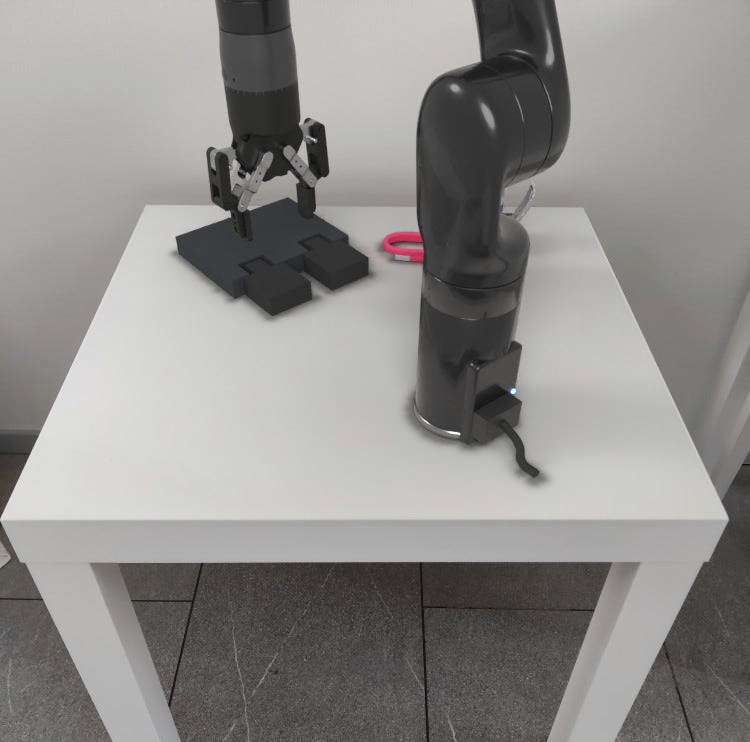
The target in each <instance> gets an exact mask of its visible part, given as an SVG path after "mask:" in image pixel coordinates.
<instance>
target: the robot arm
mask: <svg viewBox="0 0 750 742" xmlns="http://www.w3.org/2000/svg"><path fill="white" fill-rule="evenodd" d="M214 4H215V10H216V18H217V25H218V39H219V40H218V41H219V42H218V44H219V46H218V47H219V60H220V67H221V76H222V77H221V78H222V81H223V88H224V96H225V101H226V111H227V116H228V124H229V127H230V130H231V135H232V140H231V144H230V146H228V147H224V148H219V149H218V148H216V147H214V146H209V147H208V148H207V149H206V151H205V154H206V155H205V156H206V163H207V172H208V173H207V174H208V183H209V191H210V200H211V202H212V203H213V204H214V205H216V206H217V207H218V208H221V209H222V210H223V211H225V212H230V217H231V220H232V225H233V231H234V233H235V234H236V235H237V236H239V237H240V238H241V239H242V240H244V241H245V242H249V241H252V240H253V235H252V228H251V220H250V212H249V211H250V210H249V209H248V207H249V205H250V202H251V200H252V197H253V196H254V195H255V194H257V193H258V191H259V189H260V187H261V185H262V182H263V183H266V182H269V181H271V180H273V179H274V178H276V177H284V176H287V175H288V174H289V172H290V173H291V174H292V175H293V176H294V177H295V179H297V180H298V182H296V183H295V190H296V201H297V203H298V212H299V214H300V216H302V217H304V218H305V219H307V220H309V219H311V218H313V217H314V214H315V213H316V210H317V200H316V199H317V198H316V186H317V184H318V181H319V180H320V179H322V178H327V177H328V176H329V175H330V165H329V154H328V153H329V152H328V144H327V143H328V142H327V135H326V134H327V133H326V126H325V125H324V124H323V123H322V122H320V121H318V120H316V119H314V118H311V117H306V118H305V119H304V121H303V123H302V124H300V123H301V118H302V117H301V102H300V90H299V77H298V64H297V63H298V62H297V51H296V50H297V49H296V44H295V39H294V35H293V34H294V33H293V28H292V18H291V17H292V16H291V6H290V5H291V4H290V0H214ZM471 4H472V9H473V15H474V20H475V25H476V32H477V39H478V48H479V58H480V59H479V61H477V62H473V63H470V64H467V65H464V66H460V67H457V68H453V69H451V70H448V71H445V72H443V73H442V74H440V75H437V77H435V78H434V79H433V80H432V81H431V83H429V85H428V86H427V88H426V89H425V91H424V94H423V96H422V99H421V101H420V105H419V110H418V115H417V121H416V132H415V174H416V175H415V182H416V184H415V187H416V188H415V190H416V191H415V193H416V194H415V195H416V196H415V198H416V199H415V200H416V201H415V202H416V203H415V207H416V210H415V211H416V221H417V228H418V232H420V236H421V239H422V242H421V243H422V250H423V261H422V272H421V287H420V305H419V322H418V323H419V324H418V339H417V341H418V343H417V359H416V378H415V379H416V381H415V396H414V400H413V401H414V402H413V411H414V415H415V418H416V420H417V421H418V422H419V424H421V426H422V427H424V428H425V429H427V430H428V431H430V432H431V433H433V434H435V435H437V436H440V437H444V438H447V439H453V440H459V441H461V442H462V443H464V444H466V445H471V444H473V443H475V442H476V441H478V442H479V443H480V444H482V445H483V446H484V445H486V444H488V443H490V442H491V441H493V440H495V439H496V438H498V437H500V436H502V435H503V434H504V433H505V434H506V436H507V438H509V439H510V441H511V442H512V444H513V446H514V448H515V460H516V463H517V465H518V466H519V468H520V469H521V470H523V472H525V473H527V474H528V475H529V476H531V477H532V478H537V477H538V476H539V475H540V470H539V469H538V468H537V467H535V466H533V465H531V464H530V463H529V462H528V460H527V459H526V448H525V444H524V442H523V440H522V439H521V437H520V435H519V434H518V433H517V431H516V430H515V429H514V428H515V427H517V426H518V425H519V422H520V421H519V420H520V417H521V411H522V405H523V401H522V400H521V399H519V398H518V397H517V396H515V393H516V391H517V390H516V386H517V381H518V375H519V369H520V364H521V358H522V352H523V345H522V344H521V343H520V342H518V341H517V340H516V335H517V329H518V324H519V316H520V310H521V304H522V298H523V292H524V287H525V281H526V276H527V275H526V274H527V270H528V269H527V268H528V265H529V264H528V263H529V257H530V251H531V239H530V236H529V232H528V230H527V229H526V228H525V227H524V225H523V224H522V223H521V222H520V221H519V222H518V221H516V220H514V219H513V218H511V217H509V216H507V215H504V214H502V213H503V212H502V213H500V208H501V196H502V189H505V190H506V189H507V188H509V187H512V186H514V185H517V184H519V183H521V182H524V181H527V180H529V178H531V177H533V178H534V177H536V176H538V175H540V174H542V173H544V172H546V171H547V170H549V169H551V168H552V166H554V165H555V164H556V163H557V162H558V160H559V159H560V157H561V156H562V154H563V152H564V150H565V149H566V146H567V142H568V141H569V135H570V130H571V122H572V101H571V92H570V81H569V76H568V75H569V74H568V69H567V63H566V56H565V51H564V46H563V40H562V33H561V28H560V24H559V22H560V21H559V16H558V11H557V6H556V4H557V3H556V0H471ZM303 142H304V143H305V148H306V156H307V164H306V162H305V161H304V160H303V158H302V157H300V155H299V151H300V148H301V146H302V143H303ZM234 161H236V162H237V165H236V167H235V169H234V166H233V163H234ZM233 170H234V172H233V174H232V176H231V172H230V171H233ZM247 175H249V176H250V177H249V179H248V180H247ZM231 181H232V182H231Z"/></svg>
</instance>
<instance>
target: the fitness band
mask: <svg viewBox="0 0 750 742" xmlns="http://www.w3.org/2000/svg"><path fill="white" fill-rule="evenodd" d="M397 242H410V243H411V242H412V243H422V239H421V236H420V232H419V231H395V232H391V233H388V234H387V235H386V236H384V238H383V240H382V247H383V249H384V251H386V252H388V253H391V254H394V260H395V261H407V262H423V249H422V248H421V249H418V248H404V247H403V248H402V247H398V246H394V245H391V244H394V243H397Z"/></svg>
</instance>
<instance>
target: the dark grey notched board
mask: <svg viewBox="0 0 750 742" xmlns="http://www.w3.org/2000/svg"><path fill="white" fill-rule="evenodd" d="M249 212H250V220H251V228H252V235H253V240H252V241H249V242H245V241H244V240H242V239H241V238H240V237H239V236H237V235H236V234H235V233H234V231H233V225H232V220H231V216H230V217H226V218H224V219H222V220H219V221H216V222H213V223H210V224H207V225H204V226H202V227H198V228H196V229H193V230H190V231H186V232H185V233H182V234H179V235H176V236H175V242H176V247H177V252H178V255H180V256H181V257H182V258H183V259H184V260H186V261H187V262H188V263H190V264H191V265H192V266H193V267H194V268H195V269H197V270H198V271H199V272H201V273H202V274H203V275H204V276H206V277H207V278H208V279H209V280H210V281H212V282H213V283H214V284H215V285H217V286H218V287H219V288H220V289H222V290H223V291H224V292H226V293H227V294H228V295H229V296H230V297H232V298H233V299H237V298H241V297H242V296H246V295H245V290H244V282H243V277H245V276H248V275H250V274H249V273H248V272H246V270H245V265H246V264H248V263H251V262H253V261H256V260H259V259H262V260H263V261H264V262H266V263H267V264H269V265H270V266H273V265H276V264H278V263H281V262H284V263H286V264H287V265H289V266H290V267H291V268H293V269H294V270H296V271H297V272H298V273H301V272H305V271H304V261H303V254H304V253H306V252H309V250H307V249H306V248H304V242H305V241H308V240H310V239H313V238H315V237H320V238H321V239H323V240H324V241H326V242H327V243H332V242H334V241H337V240H340V239H341V240H342V241H344V242H345V243H347V244H348V245H350V241H349V234H348V233H346V232H344V231H342V230H341V229H339V228H338V227H336V226H334V225H333V224H332V223H330V222H328V221H327V220H325V219H323V218H322V217H321V216H320V215H317V214H316V213H314V217H313V218H311V219H309V220H307V219H305V218H304V217H302V216H300V214H299V212H298V202H296V201H295V200H293V198H290V197H288V196H287V197H285V198H282V199H279V200H276V201H273V202H270V203H267V204H265V205H262V206H259V207H258V206H257V207H256V208H253V209H250V210H249Z"/></svg>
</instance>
